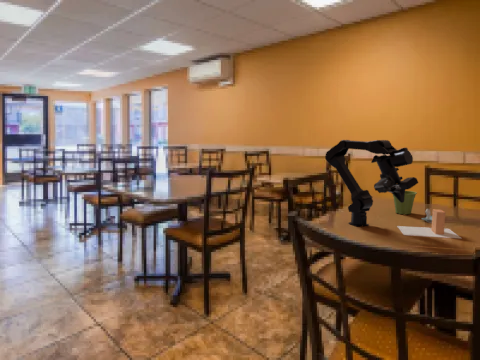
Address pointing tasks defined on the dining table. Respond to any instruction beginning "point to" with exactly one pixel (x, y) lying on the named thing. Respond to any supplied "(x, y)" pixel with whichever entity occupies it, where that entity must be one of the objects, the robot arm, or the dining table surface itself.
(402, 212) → the plant pot
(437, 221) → the orange block
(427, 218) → the pacifier
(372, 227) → the dining table surface
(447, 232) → the mat
